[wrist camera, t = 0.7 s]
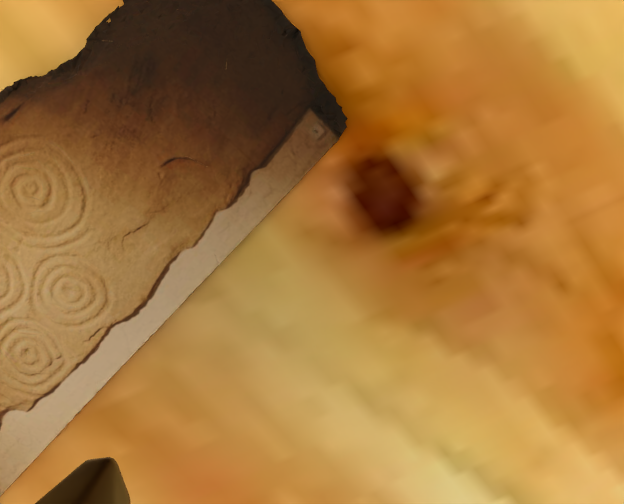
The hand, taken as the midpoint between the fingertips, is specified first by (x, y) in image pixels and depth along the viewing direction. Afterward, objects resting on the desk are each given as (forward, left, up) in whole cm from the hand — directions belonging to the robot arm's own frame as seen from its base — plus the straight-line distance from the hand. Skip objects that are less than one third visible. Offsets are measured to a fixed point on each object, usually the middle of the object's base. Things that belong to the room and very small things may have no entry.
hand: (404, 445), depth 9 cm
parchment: (-8, +7, -14) cm, 18 cm away
